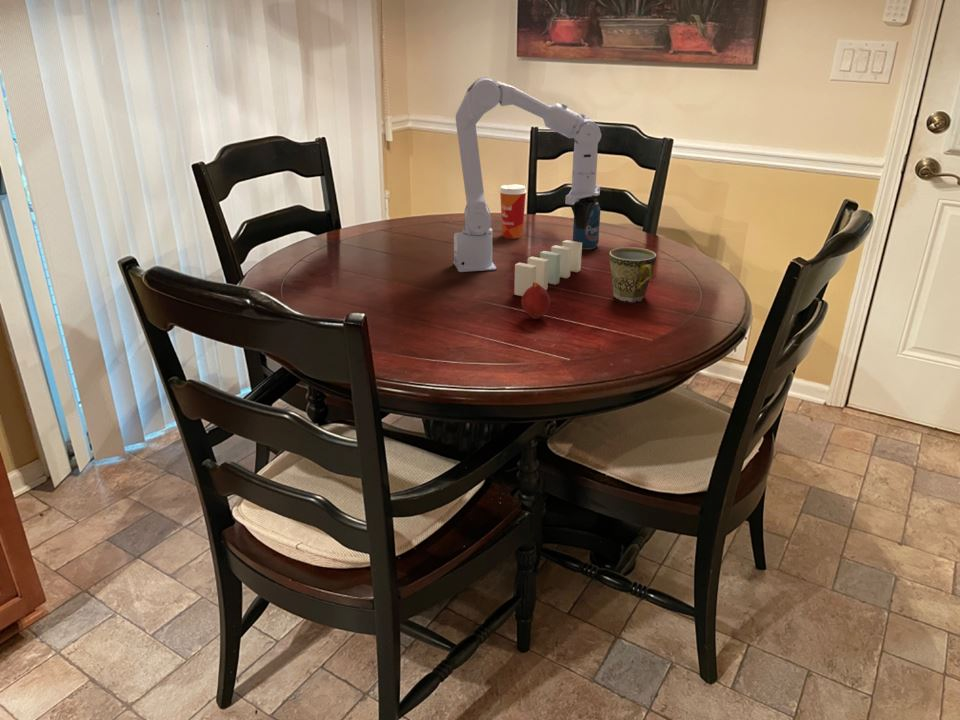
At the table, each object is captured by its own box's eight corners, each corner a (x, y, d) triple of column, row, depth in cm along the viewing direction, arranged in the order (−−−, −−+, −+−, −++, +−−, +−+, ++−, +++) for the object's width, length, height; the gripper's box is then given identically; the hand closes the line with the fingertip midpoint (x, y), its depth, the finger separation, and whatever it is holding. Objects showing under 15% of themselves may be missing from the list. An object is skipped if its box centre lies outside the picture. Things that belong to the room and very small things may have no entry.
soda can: (590, 251, 198) (592, 206, 193) (567, 247, 201) (569, 202, 196) (602, 245, 203) (605, 201, 198) (580, 241, 206) (582, 198, 201)
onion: (532, 311, 157) (533, 275, 154) (554, 317, 154) (556, 280, 151) (515, 319, 153) (516, 282, 150) (538, 326, 150) (539, 288, 147)
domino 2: (543, 291, 169) (544, 261, 166) (526, 287, 171) (527, 258, 168) (547, 289, 170) (548, 259, 168) (530, 285, 173) (531, 256, 170)
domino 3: (555, 284, 173) (556, 255, 170) (539, 281, 175) (539, 252, 173) (559, 282, 175) (560, 253, 172) (542, 279, 177) (543, 250, 174)
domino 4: (566, 278, 177) (567, 249, 174) (550, 275, 180) (551, 246, 177) (570, 276, 179) (571, 248, 176) (553, 273, 181) (555, 245, 178)
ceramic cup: (598, 292, 168) (601, 249, 164) (636, 287, 171) (640, 245, 167) (628, 312, 157) (632, 266, 153) (668, 306, 160) (673, 261, 156)
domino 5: (577, 272, 182) (578, 244, 179) (561, 269, 184) (562, 241, 181) (580, 270, 183) (582, 242, 180) (564, 267, 185) (565, 239, 182)
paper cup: (495, 233, 214) (495, 184, 208) (520, 231, 216) (521, 183, 210) (504, 240, 207) (504, 190, 201) (529, 238, 209) (531, 188, 203)
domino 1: (531, 298, 165) (532, 267, 162) (514, 294, 167) (514, 264, 164) (535, 295, 166) (536, 265, 163) (518, 292, 169) (519, 262, 166)
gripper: (585, 179, 170) (582, 237, 175) (612, 169, 181) (609, 224, 186) (558, 175, 173) (556, 233, 179) (586, 166, 184) (583, 220, 190)
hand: (581, 228), depth 183 cm, fingers closed
